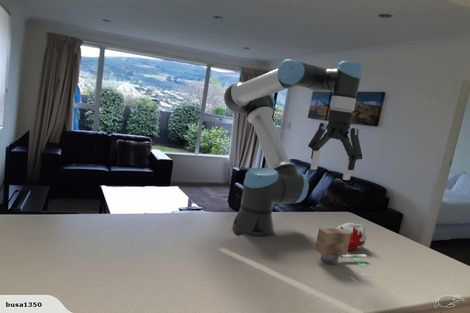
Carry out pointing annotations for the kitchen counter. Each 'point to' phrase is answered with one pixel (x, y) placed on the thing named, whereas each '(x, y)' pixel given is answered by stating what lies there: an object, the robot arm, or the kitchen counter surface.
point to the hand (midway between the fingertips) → (329, 174)
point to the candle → (355, 235)
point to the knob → (334, 245)
